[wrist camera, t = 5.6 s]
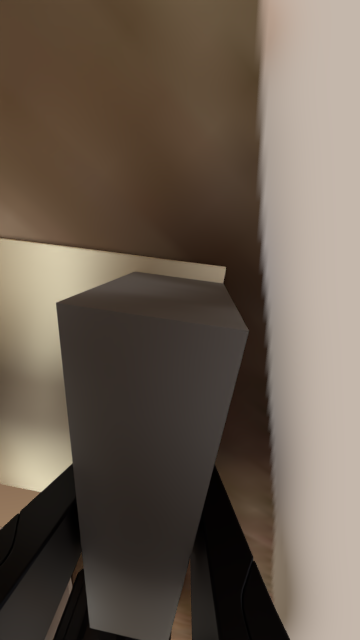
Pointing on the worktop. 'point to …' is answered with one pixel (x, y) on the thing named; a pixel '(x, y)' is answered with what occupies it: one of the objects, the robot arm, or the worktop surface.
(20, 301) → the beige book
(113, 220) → the worktop surface
